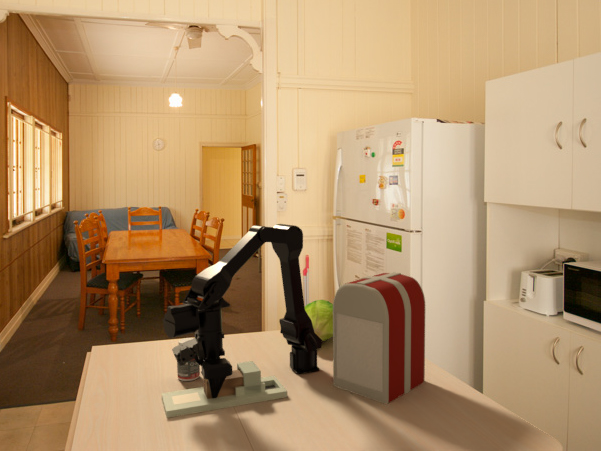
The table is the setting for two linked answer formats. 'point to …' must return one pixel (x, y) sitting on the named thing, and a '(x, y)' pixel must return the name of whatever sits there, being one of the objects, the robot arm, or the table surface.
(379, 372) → the red striped block
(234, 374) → the brown rectangular block
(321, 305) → the lettuce
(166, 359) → the table surface
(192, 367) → the pill bottle
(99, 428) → the table surface
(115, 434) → the table surface
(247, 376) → the tunnel deck
